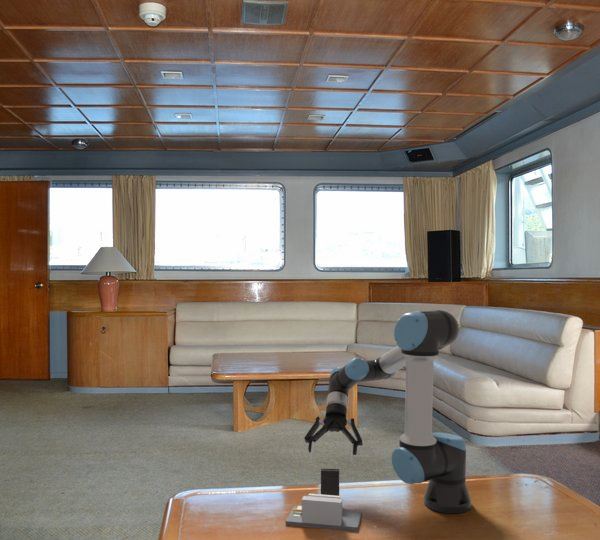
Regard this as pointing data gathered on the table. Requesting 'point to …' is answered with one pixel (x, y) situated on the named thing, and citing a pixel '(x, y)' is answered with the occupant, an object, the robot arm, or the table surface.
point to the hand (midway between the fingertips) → (331, 462)
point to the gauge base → (346, 518)
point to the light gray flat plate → (319, 496)
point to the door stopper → (330, 482)
